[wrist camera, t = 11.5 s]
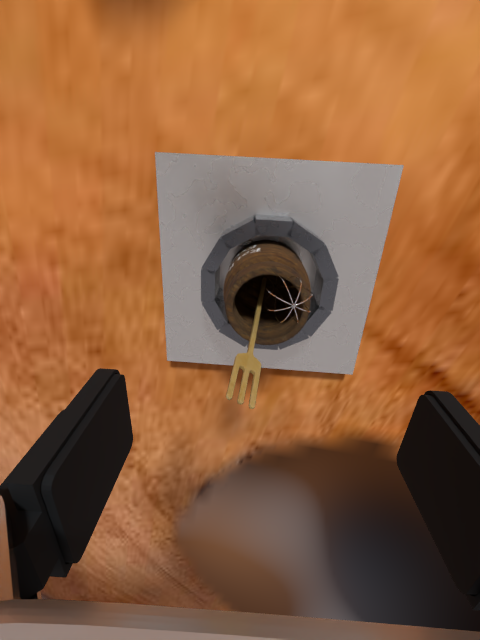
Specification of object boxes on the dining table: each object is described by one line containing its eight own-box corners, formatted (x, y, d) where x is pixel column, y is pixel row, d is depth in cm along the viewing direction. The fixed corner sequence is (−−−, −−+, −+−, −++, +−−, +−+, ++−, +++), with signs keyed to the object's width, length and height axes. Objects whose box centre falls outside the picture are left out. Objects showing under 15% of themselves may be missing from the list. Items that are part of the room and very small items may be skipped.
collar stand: (161, 153, 23) (139, 148, 19) (394, 166, 22) (425, 163, 18) (171, 352, 30) (157, 379, 26) (348, 365, 29) (362, 395, 25)
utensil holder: (317, 257, 24) (366, 324, 13) (279, 323, 26) (293, 426, 15) (248, 223, 23) (237, 264, 12) (215, 295, 25) (182, 382, 15)
